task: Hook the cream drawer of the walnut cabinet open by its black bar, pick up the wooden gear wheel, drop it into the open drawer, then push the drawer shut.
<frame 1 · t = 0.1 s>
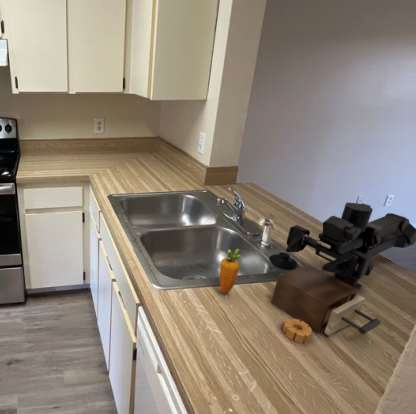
hand: (303, 258, 81), 17 cm above the worktop, tool horizontal, fingers open, 9 cm apart
cabinet: (308, 309, 89), on the worktop
drawer: (333, 308, 83), point 4 cm above the worktop, slide at 1.0 cm
wooden gear wheel: (296, 333, 81), on the worktop
carrot: (224, 294, 95), on the worktop
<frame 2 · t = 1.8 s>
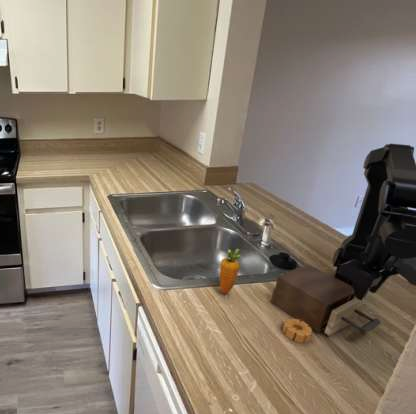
hand: (365, 295, 76), 12 cm above the worktop, tool pointing down, fingers open, 5 cm apart
nothing on the worktop moved.
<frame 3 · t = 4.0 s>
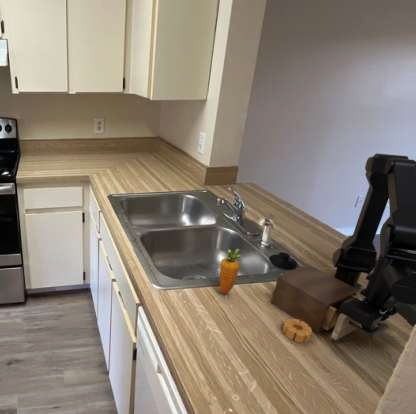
hand: (366, 331, 77), 4 cm above the worktop, tool pointing down, fingers closed, pressing on drawer
drawer: (340, 312, 81), point 4 cm above the worktop, slide at 2.6 cm, touching gripper
everything else where it was.
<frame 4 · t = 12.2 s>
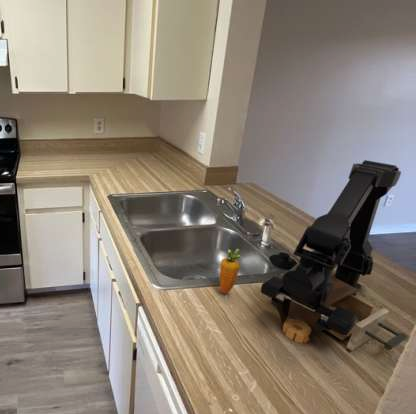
hand: (297, 330, 81), 1 cm above the worktop, tool pointing down, fingers closed on wooden gear wheel, 6 cm apart
drawer: (355, 321, 79), point 4 cm above the worktop, slide at 6.0 cm
wooden gear wheel: (296, 333, 81), on the worktop, touching gripper
everything else where it was.
when the fingers open (9 cm above the worktop, at t = 15.7 s): wooden gear wheel drops 3 cm and tips over, resting on drawer.
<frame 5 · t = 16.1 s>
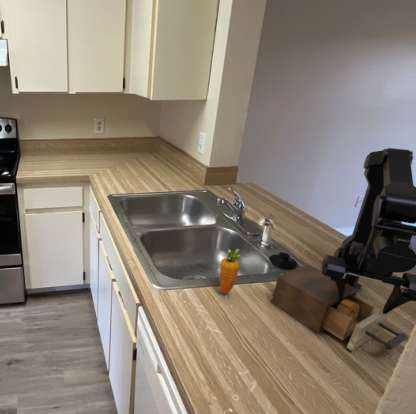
hand: (361, 306, 77), 9 cm above the worktop, tool pointing down, fingers open, 8 cm apart
drawer: (356, 321, 78), point 4 cm above the worktop, slide at 6.1 cm, touching wooden gear wheel
wooden gear wheel: (352, 314, 80), point 5 cm above the worktop, tilted 97°, touching drawer
everything else where it was.
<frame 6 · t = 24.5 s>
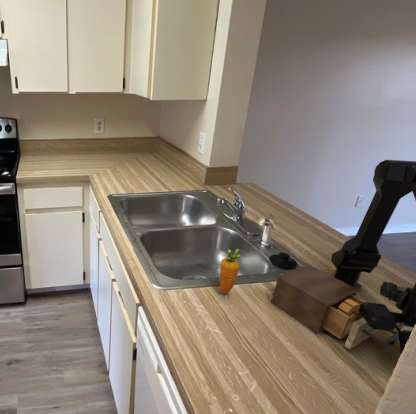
hand: (403, 352, 71), 4 cm above the worktop, tool pointing down, fingers closed
drawer: (353, 320, 79), point 4 cm above the worktop, slide at 5.6 cm, touching wooden gear wheel, gripper
wooden gear wheel: (352, 314, 80), point 5 cm above the worktop, tilted 90°, touching drawer
everything else where it was.
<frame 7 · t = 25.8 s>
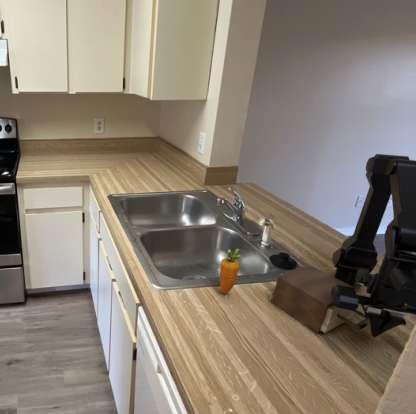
hand: (372, 335, 76), 4 cm above the worktop, tool pointing down, fingers closed
drawer: (329, 306, 83), point 4 cm above the worktop, slide at 0.0 cm, touching cabinet, wooden gear wheel, gripper
wooden gear wheel: (328, 300, 85), point 5 cm above the worktop, tilted 90°, touching drawer
everything else where it was.
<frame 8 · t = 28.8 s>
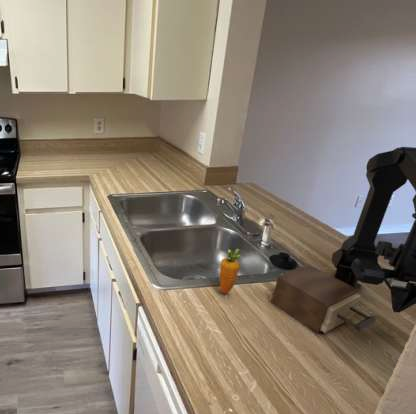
hand: (395, 311, 71), 12 cm above the worktop, tool pointing down, fingers closed
drawer: (329, 306, 83), point 4 cm above the worktop, slide at 0.0 cm, touching wooden gear wheel
everything else where it was.
at the end: wooden gear wheel inside the target area in the cabinet (3.6 cm from its centre), point 5.0 cm above the cabinet's base; drawer slide at 0.0 cm; the gripper is holding nothing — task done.
